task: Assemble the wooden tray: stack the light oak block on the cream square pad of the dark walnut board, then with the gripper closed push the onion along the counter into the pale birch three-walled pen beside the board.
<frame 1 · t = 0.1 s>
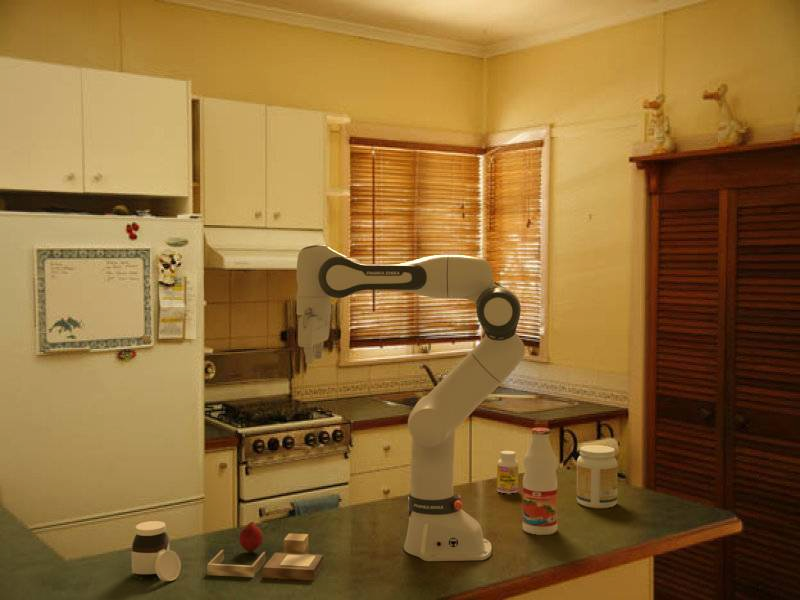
hand: (314, 361, 219), 48 cm above the countertop, tool pointing down, fingers open, 8 cm apart
wooden tray: (265, 569, 203), on the countertop
oak block: (296, 556, 212), on the countertop
supplement bottle: (507, 492, 270), on the countertop
spread jar: (157, 576, 199), on the countertop
supplement tub: (596, 504, 258), on the countertop
onion: (251, 553, 214), on the countertop
fruit juice: (539, 530, 232), on the countertop
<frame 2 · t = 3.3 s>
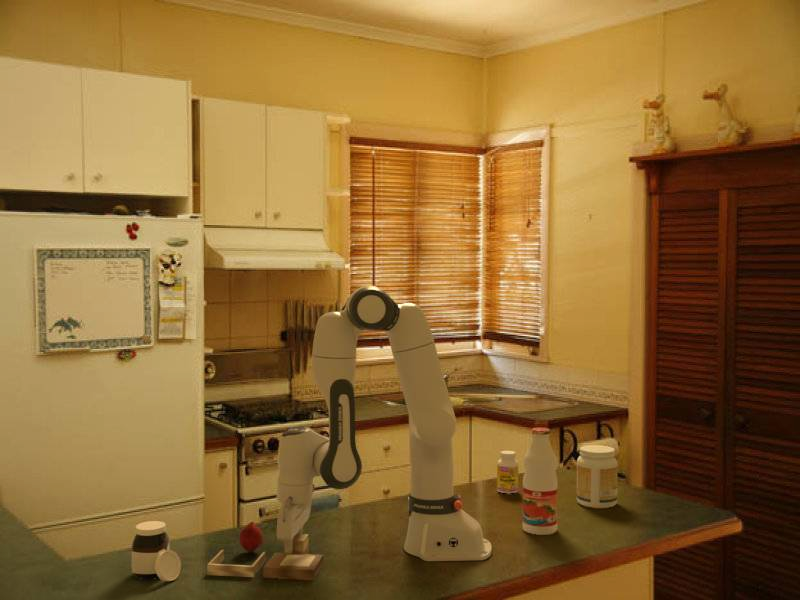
hand: (293, 547, 211), 2 cm above the countertop, tool pointing down, fingers open, 7 cm apart
nothing on the countertop moved.
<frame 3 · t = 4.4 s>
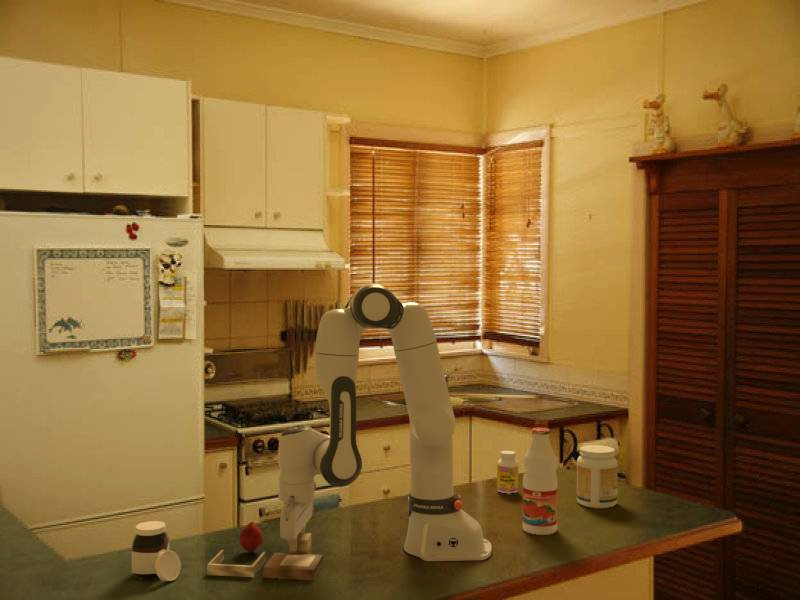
hand: (297, 546, 211), 3 cm above the countertop, tool pointing down, fingers closed on oak block, 5 cm apart
oak block: (299, 556, 211), on the countertop, touching gripper
everything else where it was.
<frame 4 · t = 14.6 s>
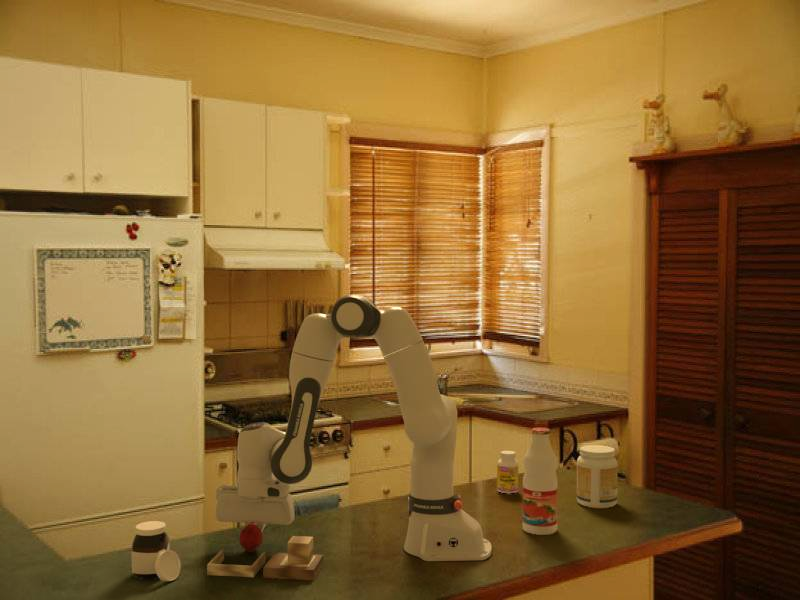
hand: (255, 539, 218), 2 cm above the countertop, tool pointing down, fingers closed, pressing on onion
oak block: (300, 560, 201), point 3 cm above the countertop, touching wooden tray
onion: (251, 553, 214), on the countertop, touching gripper
everything else where it was.
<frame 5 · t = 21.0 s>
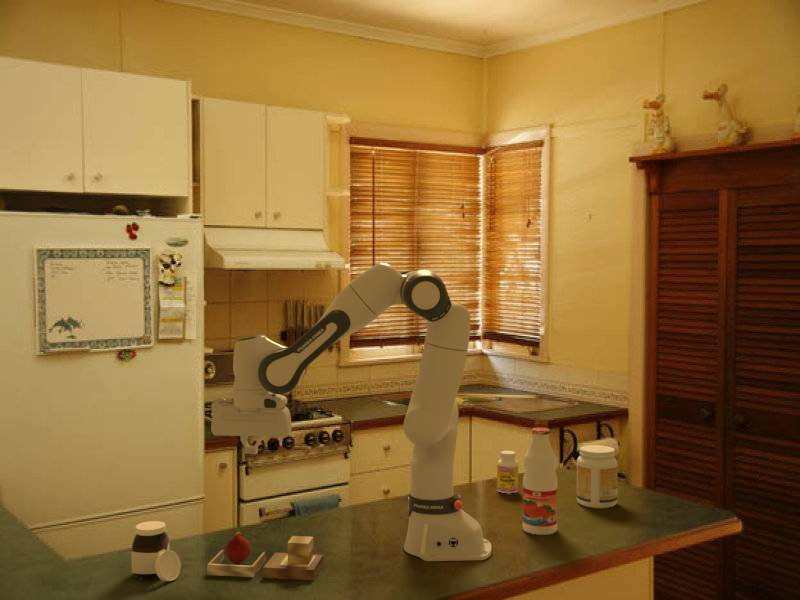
hand: (251, 453, 214), 25 cm above the countertop, tool pointing down, fingers closed
onion: (238, 565, 206), on the countertop
everything else where it was.
at the end: oak block 0.6 cm from the target spot on the wooden tray, point 2.7 cm above the wooden tray's base; onion inside the target area on the wooden tray (2.5 cm from its centre), point 0.0 cm above the wooden tray's base; oak block tilted 0° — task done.
